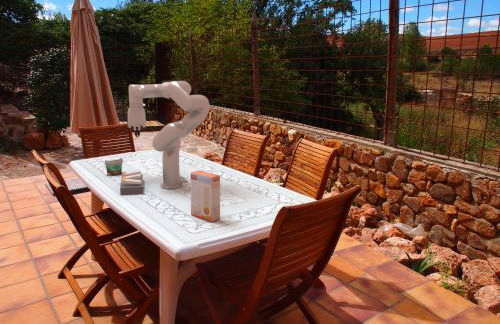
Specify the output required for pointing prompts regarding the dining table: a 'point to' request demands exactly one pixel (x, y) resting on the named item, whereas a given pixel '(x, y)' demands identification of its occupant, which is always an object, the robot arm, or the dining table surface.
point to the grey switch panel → (131, 187)
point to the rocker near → (131, 181)
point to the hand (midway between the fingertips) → (137, 136)
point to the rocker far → (131, 173)
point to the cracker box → (205, 195)
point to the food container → (114, 167)
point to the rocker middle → (132, 176)
